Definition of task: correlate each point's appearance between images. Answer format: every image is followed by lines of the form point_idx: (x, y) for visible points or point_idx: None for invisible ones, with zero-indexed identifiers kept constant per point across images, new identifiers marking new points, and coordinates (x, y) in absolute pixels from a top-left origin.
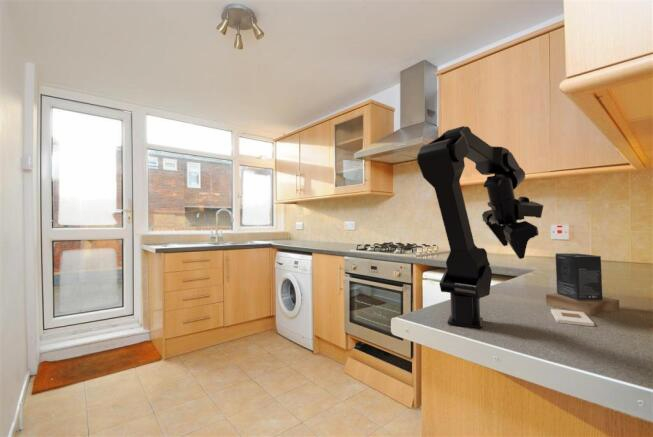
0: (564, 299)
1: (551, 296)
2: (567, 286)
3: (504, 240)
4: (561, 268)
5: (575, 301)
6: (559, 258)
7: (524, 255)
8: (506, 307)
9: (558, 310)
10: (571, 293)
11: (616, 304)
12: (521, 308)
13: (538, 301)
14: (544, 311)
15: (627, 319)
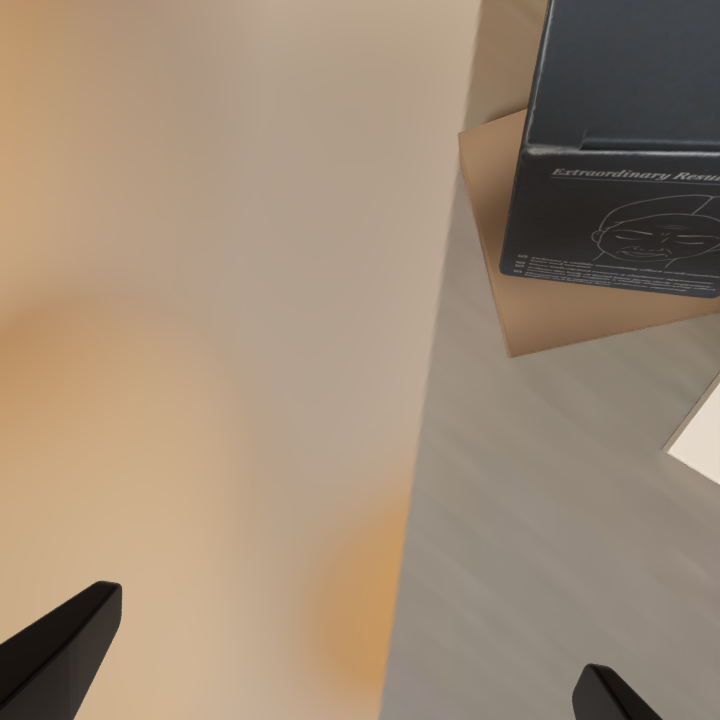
0: (633, 329)
1: (547, 347)
2: (639, 275)
3: (58, 692)
4: (606, 226)
5: (707, 313)
6: (601, 180)
7: (645, 703)
8: (544, 615)
9: (709, 439)
10: (668, 289)
11: None
12: (575, 553)
13: (446, 354)
14: (653, 480)
15: None
